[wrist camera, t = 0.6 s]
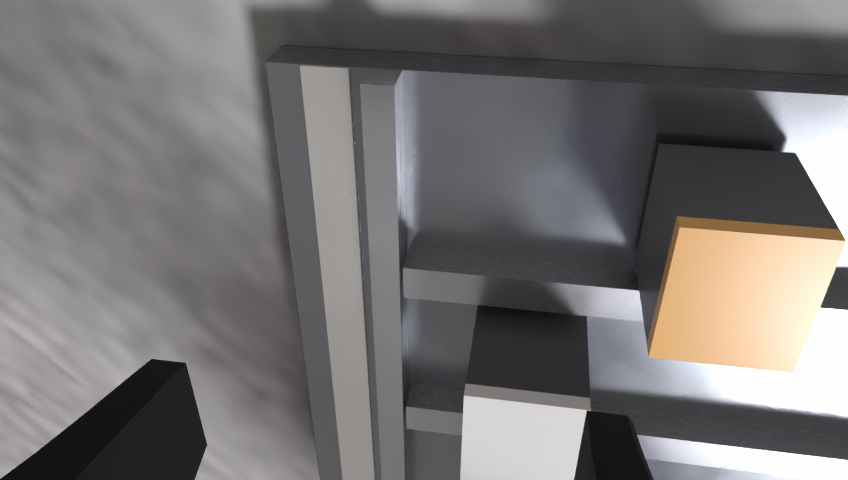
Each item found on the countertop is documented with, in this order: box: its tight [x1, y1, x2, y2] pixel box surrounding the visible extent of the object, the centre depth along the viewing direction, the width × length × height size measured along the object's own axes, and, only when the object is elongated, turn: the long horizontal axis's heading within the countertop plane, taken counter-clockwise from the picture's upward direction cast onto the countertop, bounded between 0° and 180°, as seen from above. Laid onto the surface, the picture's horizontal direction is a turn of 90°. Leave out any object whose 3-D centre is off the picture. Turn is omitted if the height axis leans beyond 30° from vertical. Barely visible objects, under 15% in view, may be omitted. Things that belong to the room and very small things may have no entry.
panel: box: [265, 46, 848, 480], centre depth 21 cm, size 16×20×2 cm
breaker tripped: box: [635, 143, 847, 373], centre depth 16 cm, size 3×3×4 cm
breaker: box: [460, 305, 591, 480], centre depth 19 cm, size 3×3×4 cm
